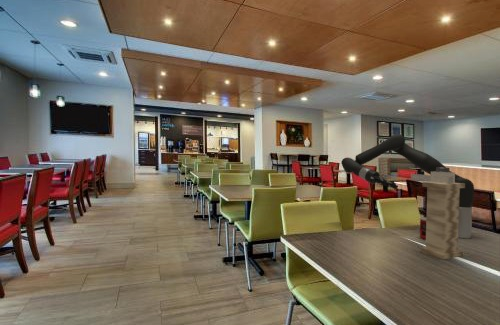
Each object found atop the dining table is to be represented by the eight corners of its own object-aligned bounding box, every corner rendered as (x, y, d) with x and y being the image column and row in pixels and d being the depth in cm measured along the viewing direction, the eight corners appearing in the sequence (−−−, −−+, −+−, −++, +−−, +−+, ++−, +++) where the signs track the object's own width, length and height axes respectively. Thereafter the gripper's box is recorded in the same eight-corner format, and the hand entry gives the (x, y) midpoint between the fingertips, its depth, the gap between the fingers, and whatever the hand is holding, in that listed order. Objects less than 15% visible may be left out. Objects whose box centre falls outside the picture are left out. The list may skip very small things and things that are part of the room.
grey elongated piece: (417, 179, 140) (417, 166, 139) (454, 183, 123) (455, 167, 123) (408, 180, 137) (409, 166, 137) (446, 183, 121) (446, 168, 120)
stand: (440, 248, 133) (442, 181, 132) (462, 255, 123) (465, 183, 122) (420, 252, 127) (422, 182, 126) (442, 259, 118) (444, 184, 117)
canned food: (431, 237, 152) (431, 217, 152) (439, 241, 144) (440, 220, 144) (416, 236, 153) (417, 217, 152) (424, 240, 145) (425, 220, 145)
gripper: (364, 167, 157) (389, 178, 144) (378, 171, 165) (402, 182, 152) (359, 178, 159) (382, 190, 145) (373, 182, 166) (396, 194, 153)
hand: (393, 186), depth 148 cm, fingers open, 8 cm apart
